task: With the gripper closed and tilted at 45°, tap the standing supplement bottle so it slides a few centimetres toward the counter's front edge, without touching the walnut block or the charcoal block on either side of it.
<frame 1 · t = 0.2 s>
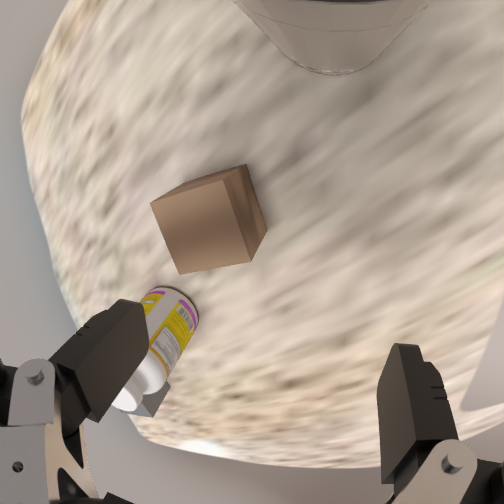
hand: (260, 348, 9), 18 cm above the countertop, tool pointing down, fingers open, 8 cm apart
charcoal block: (144, 371, 41), on the countertop
supplement bottle: (173, 309, 34), on the countertop
walnut block: (224, 205, 28), on the countertop
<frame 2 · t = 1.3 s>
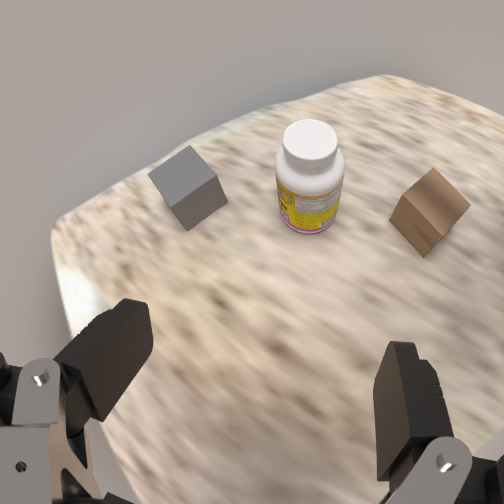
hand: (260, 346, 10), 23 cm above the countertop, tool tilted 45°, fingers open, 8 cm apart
charcoal block: (195, 200, 40), on the countertop
supplement bottle: (308, 210, 37), on the countertop
walnut block: (420, 224, 34), on the countertop
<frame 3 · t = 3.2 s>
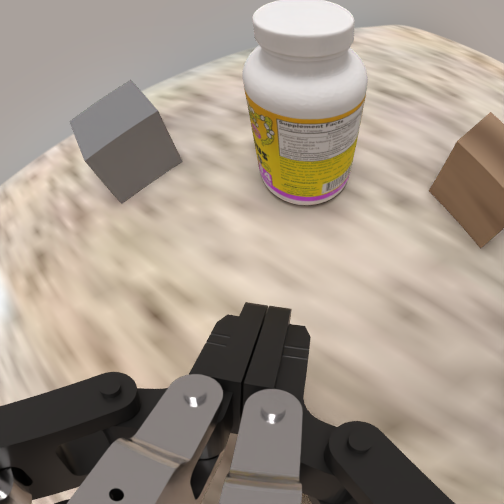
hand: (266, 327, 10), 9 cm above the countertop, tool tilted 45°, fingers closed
charcoal block: (138, 162, 26), on the countertop
supplement bottle: (304, 172, 23), on the countertop
walnut block: (472, 199, 21), on the countertop
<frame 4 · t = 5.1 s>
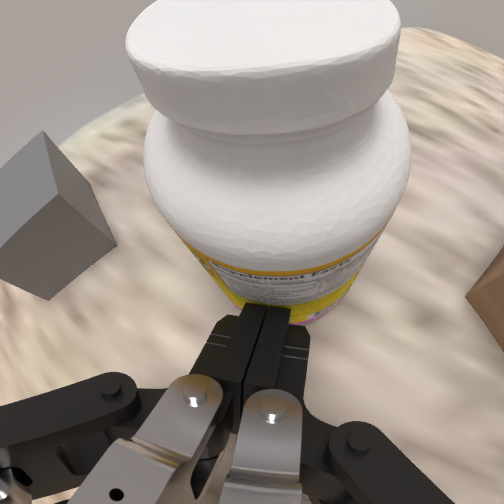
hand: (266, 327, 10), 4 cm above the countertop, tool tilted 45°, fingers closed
charcoal block: (68, 239, 18), on the countertop
supplement bottle: (286, 263, 16), on the countertop, touching gripper
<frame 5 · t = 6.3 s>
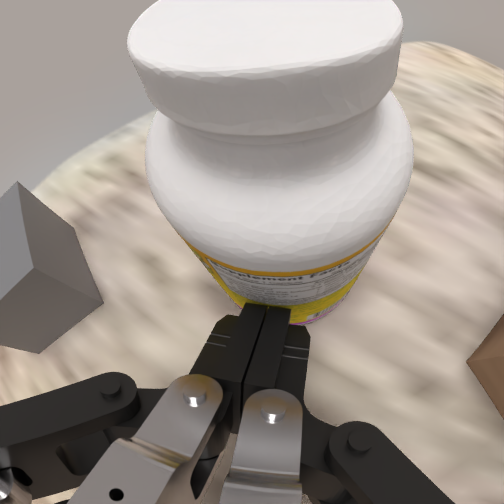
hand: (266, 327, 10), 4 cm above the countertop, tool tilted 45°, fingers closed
charcoal block: (54, 289, 17), on the countertop
supplement bottle: (288, 263, 16), on the countertop, touching gripper
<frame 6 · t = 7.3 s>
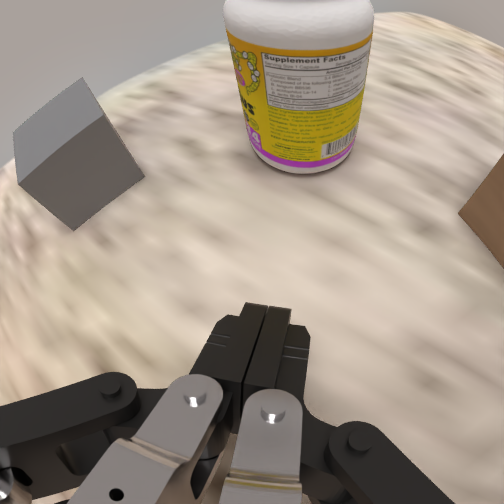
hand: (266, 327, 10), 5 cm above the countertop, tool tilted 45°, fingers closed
charcoal block: (95, 177, 20), on the countertop
supplement bottle: (301, 139, 19), on the countertop
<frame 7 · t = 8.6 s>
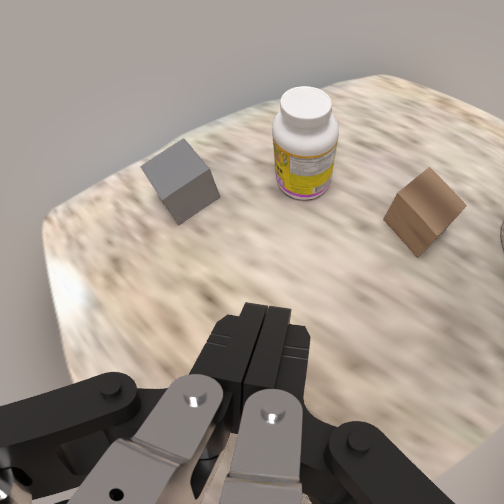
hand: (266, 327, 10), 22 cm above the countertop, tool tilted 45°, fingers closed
charcoal block: (188, 195, 39), on the countertop
supplement bottle: (303, 179, 38), on the countertop
walnut block: (415, 224, 34), on the countertop
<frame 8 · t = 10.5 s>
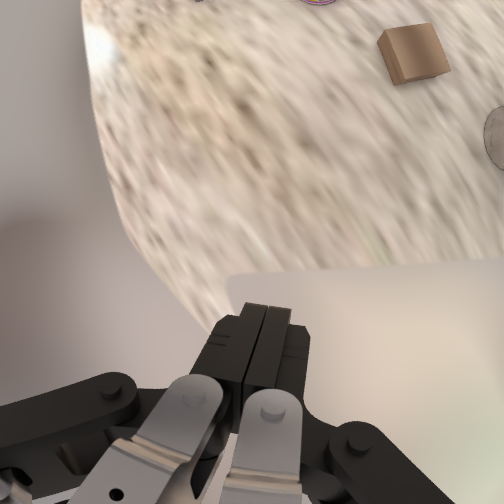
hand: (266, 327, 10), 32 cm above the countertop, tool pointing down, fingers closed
walnut block: (406, 59, 31), on the countertop
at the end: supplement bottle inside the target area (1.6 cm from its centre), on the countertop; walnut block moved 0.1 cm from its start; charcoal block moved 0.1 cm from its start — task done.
